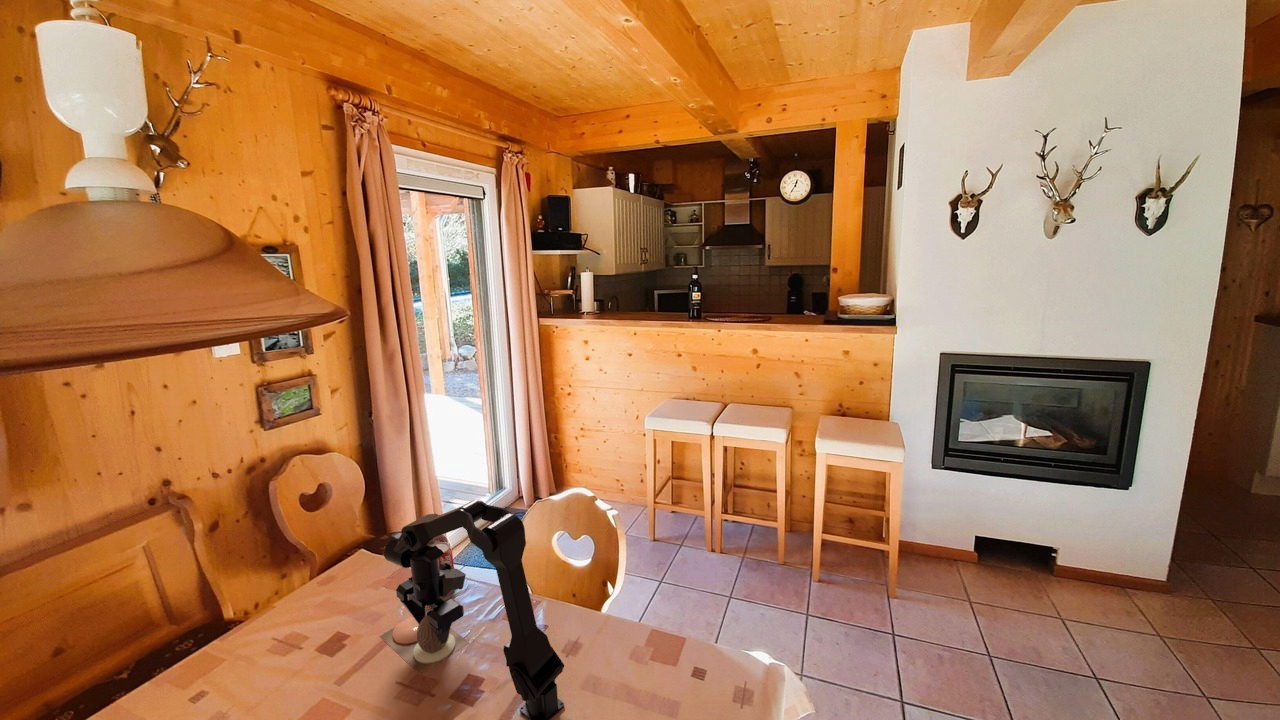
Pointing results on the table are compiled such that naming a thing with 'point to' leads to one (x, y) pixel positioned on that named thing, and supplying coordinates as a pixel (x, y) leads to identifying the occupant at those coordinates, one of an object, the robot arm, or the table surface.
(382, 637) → the board
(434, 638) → the vase
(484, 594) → the table surface
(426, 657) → the cream disc
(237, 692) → the table surface
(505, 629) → the table surface
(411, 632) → the terracotta disc
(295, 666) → the table surface
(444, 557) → the soda can
